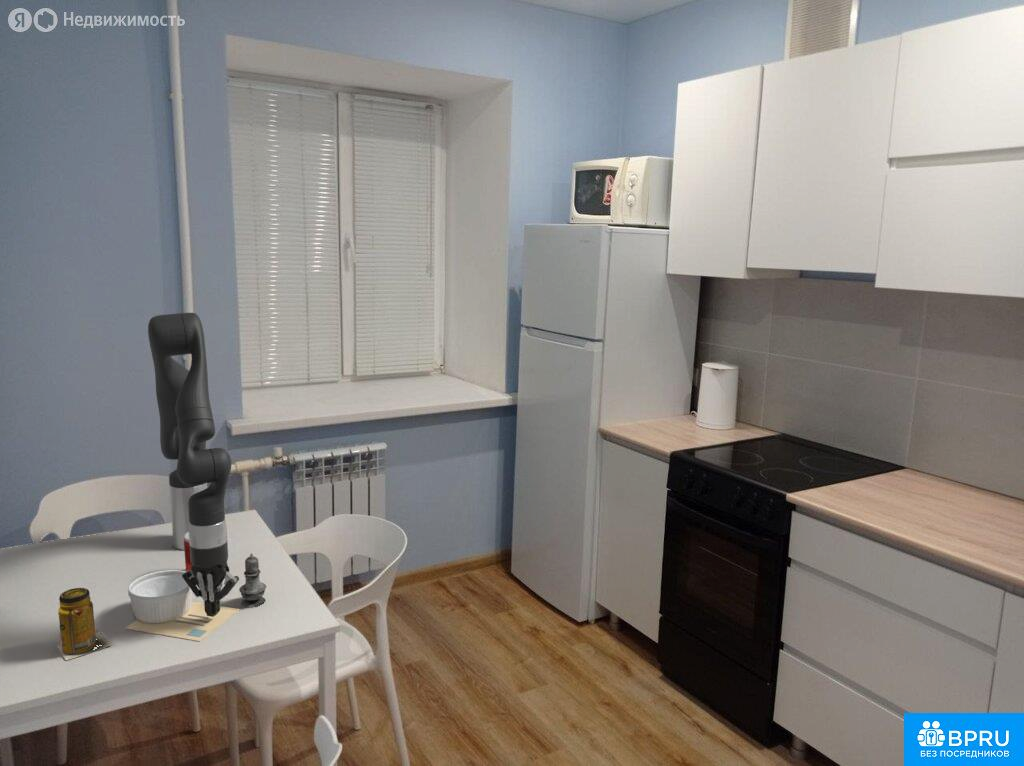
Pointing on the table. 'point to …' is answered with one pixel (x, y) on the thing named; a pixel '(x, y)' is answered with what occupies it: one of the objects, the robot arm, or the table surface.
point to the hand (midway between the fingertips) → (212, 614)
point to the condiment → (78, 624)
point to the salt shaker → (252, 584)
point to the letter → (187, 623)
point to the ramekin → (160, 596)
